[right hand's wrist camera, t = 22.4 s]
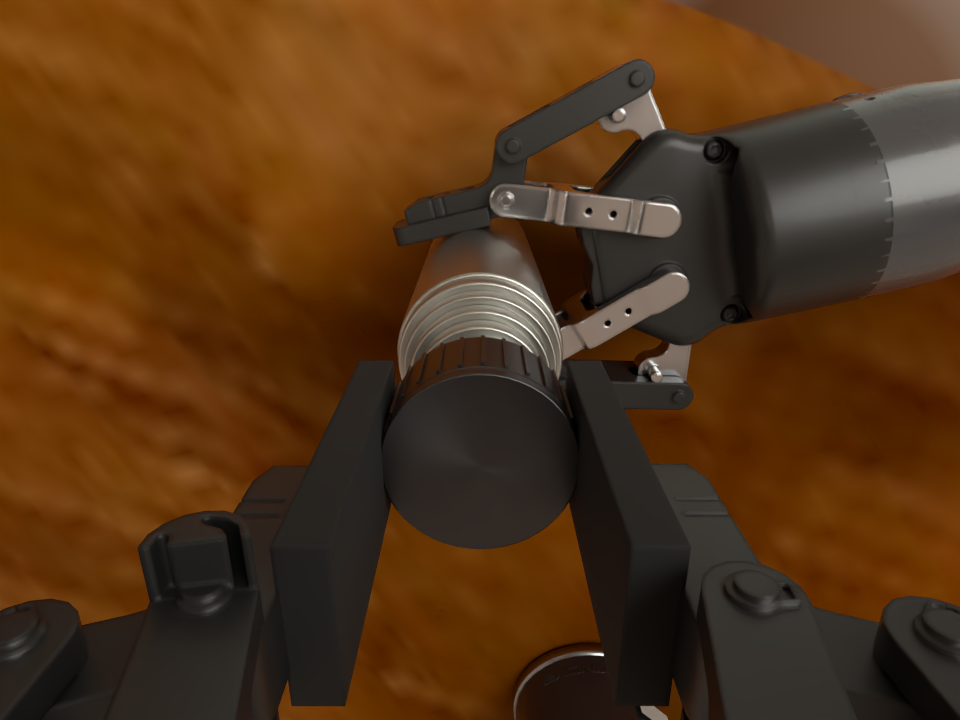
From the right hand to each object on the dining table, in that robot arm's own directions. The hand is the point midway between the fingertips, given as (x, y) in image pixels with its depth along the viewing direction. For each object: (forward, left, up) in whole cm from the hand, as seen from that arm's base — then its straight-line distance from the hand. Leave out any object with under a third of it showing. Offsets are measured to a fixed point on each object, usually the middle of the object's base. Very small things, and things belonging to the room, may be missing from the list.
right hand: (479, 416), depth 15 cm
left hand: (-1, -3, -12) cm, 12 cm away
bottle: (0, 0, -19) cm, 19 cm away
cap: (0, 0, +2) cm, 2 cm away
